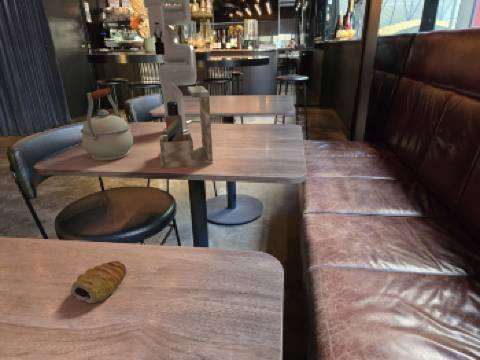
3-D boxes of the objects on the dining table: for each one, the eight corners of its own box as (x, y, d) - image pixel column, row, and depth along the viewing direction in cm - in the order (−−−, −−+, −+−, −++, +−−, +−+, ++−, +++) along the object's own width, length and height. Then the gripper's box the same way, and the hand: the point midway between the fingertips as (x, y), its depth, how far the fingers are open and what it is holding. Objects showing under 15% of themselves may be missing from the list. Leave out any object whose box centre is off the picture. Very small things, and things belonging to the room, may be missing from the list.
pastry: (109, 265, 61) (105, 248, 60) (137, 274, 59) (134, 257, 57) (68, 298, 53) (63, 280, 52) (98, 310, 51) (93, 291, 49)
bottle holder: (160, 168, 109) (151, 94, 99) (160, 153, 125) (153, 88, 116) (212, 163, 113) (209, 92, 103) (206, 149, 129) (202, 86, 119)
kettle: (122, 164, 114) (110, 93, 104) (73, 164, 115) (56, 94, 105) (145, 144, 137) (137, 85, 127) (104, 144, 138) (93, 85, 128)
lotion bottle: (179, 152, 122) (174, 100, 114) (187, 155, 118) (183, 101, 110) (166, 155, 119) (160, 102, 111) (174, 159, 115) (168, 103, 107)
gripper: (144, 5, 118) (150, 54, 125) (142, -1, 103) (149, 55, 109) (165, 5, 120) (169, 54, 126) (166, -1, 104) (171, 54, 111)
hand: (160, 54), depth 118 cm, fingers open, 9 cm apart
